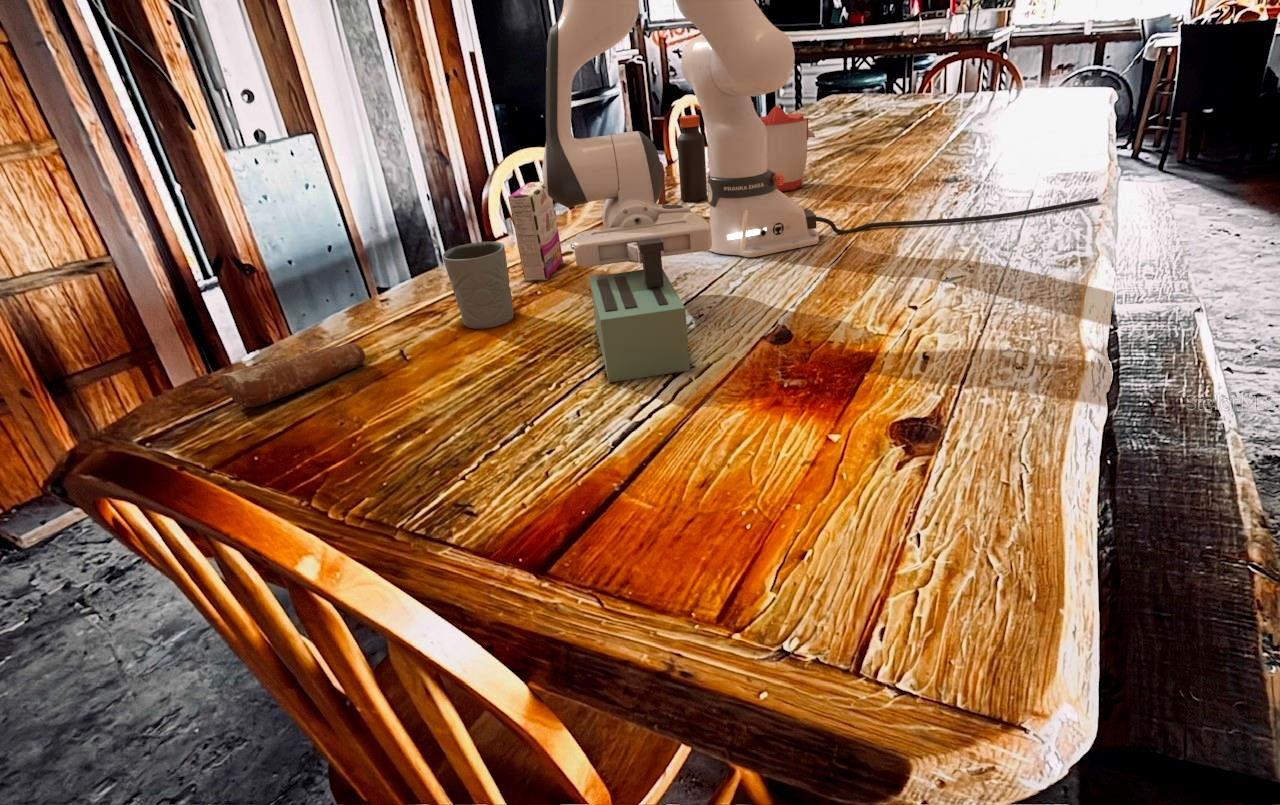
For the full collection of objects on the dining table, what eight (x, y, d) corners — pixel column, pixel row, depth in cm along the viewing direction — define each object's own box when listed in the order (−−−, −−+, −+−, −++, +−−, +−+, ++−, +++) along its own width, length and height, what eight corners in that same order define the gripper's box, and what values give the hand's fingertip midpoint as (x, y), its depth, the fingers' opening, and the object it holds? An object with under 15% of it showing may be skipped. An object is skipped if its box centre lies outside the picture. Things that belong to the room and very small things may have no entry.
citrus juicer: (820, 190, 176) (822, 105, 167) (750, 197, 177) (749, 112, 168) (807, 178, 190) (809, 98, 181) (743, 184, 191) (741, 105, 182)
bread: (229, 406, 99) (214, 370, 96) (360, 359, 109) (349, 325, 107) (242, 420, 94) (227, 383, 92) (377, 369, 105) (366, 335, 102)
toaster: (666, 322, 110) (661, 265, 106) (689, 370, 94) (685, 306, 90) (596, 332, 109) (589, 275, 105) (608, 382, 94) (600, 318, 89)
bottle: (711, 196, 183) (708, 114, 173) (699, 202, 178) (695, 118, 168) (689, 195, 186) (683, 114, 177) (676, 201, 181) (670, 119, 172)
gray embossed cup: (489, 334, 113) (474, 261, 107) (445, 326, 118) (428, 256, 112) (530, 311, 120) (517, 242, 115) (486, 305, 125) (472, 238, 120)
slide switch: (664, 280, 99) (660, 237, 96) (667, 286, 97) (663, 242, 94) (641, 283, 99) (637, 240, 96) (644, 289, 97) (639, 245, 94)
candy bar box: (540, 263, 145) (527, 182, 137) (564, 262, 144) (551, 180, 136) (522, 282, 135) (506, 195, 127) (547, 281, 134) (532, 194, 126)
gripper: (566, 220, 107) (571, 244, 95) (698, 203, 109) (719, 224, 96) (572, 260, 110) (578, 288, 98) (700, 243, 112) (721, 269, 99)
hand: (649, 256), depth 97 cm, fingers closed, pressing on slide switch
